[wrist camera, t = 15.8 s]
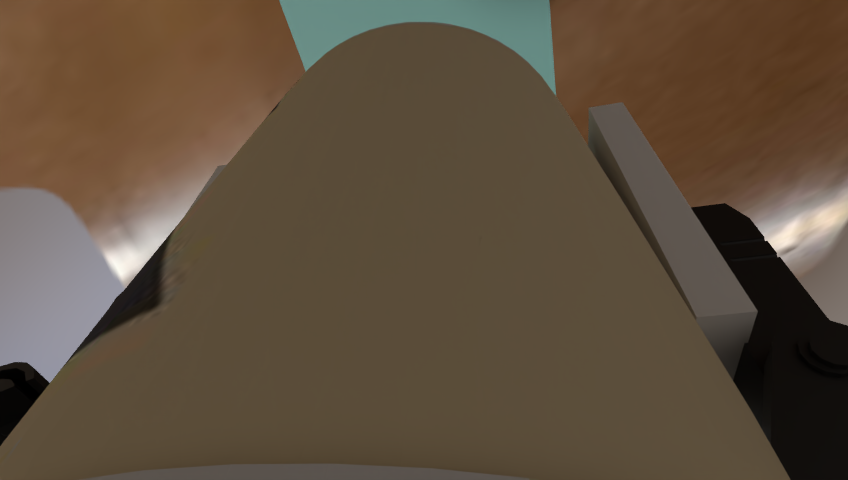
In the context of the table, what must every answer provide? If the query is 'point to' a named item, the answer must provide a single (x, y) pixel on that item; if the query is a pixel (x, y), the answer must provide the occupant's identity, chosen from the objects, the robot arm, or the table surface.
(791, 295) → the robot arm
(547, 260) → the coffee cup
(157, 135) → the table surface
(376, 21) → the teal block
